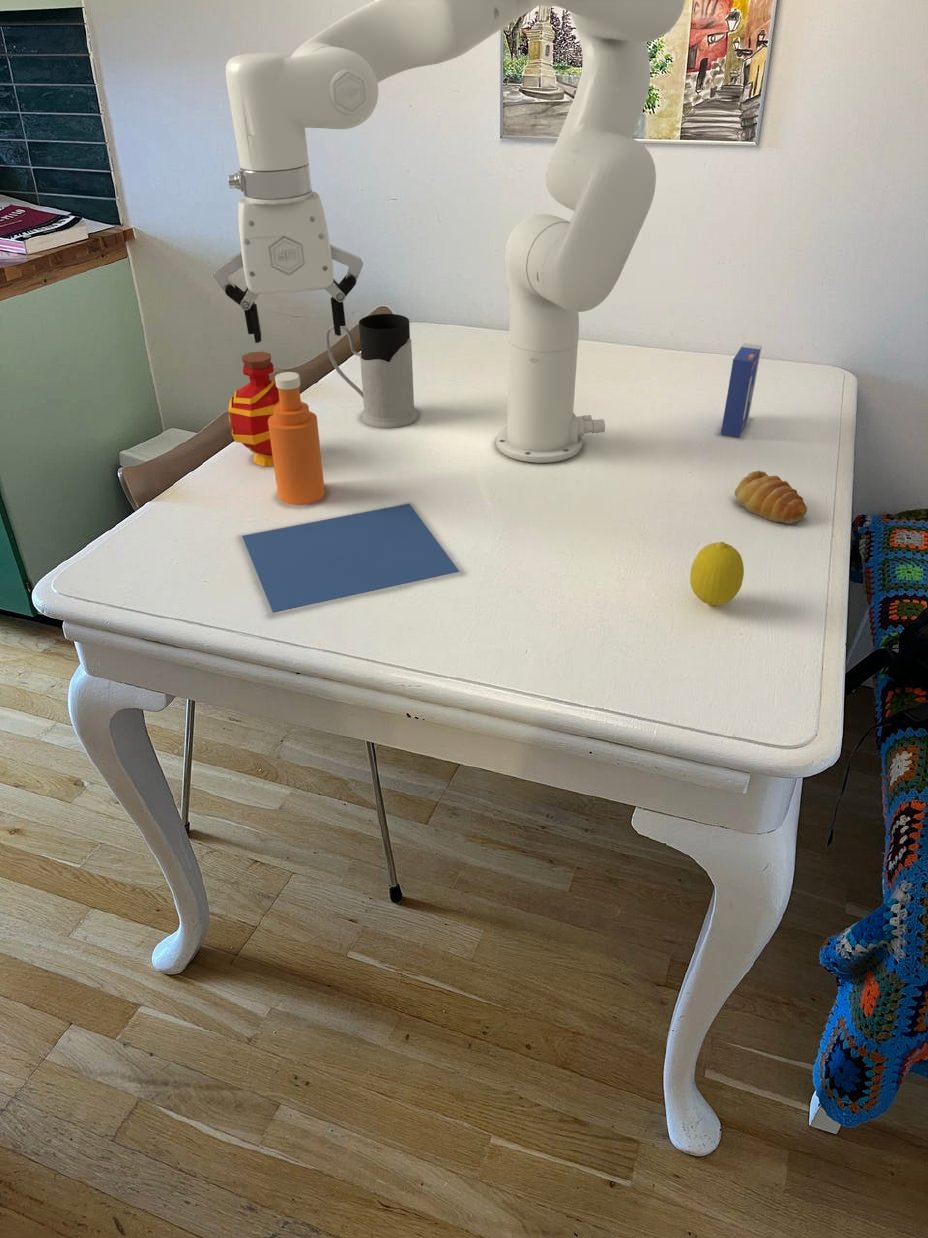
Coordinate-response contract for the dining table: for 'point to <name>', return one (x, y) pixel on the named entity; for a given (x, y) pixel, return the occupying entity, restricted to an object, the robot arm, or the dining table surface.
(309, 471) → the bottle
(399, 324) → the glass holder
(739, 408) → the walkman
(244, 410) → the potion bottle
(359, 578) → the cloth
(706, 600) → the lemon
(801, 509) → the pastry
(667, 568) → the dining table surface
